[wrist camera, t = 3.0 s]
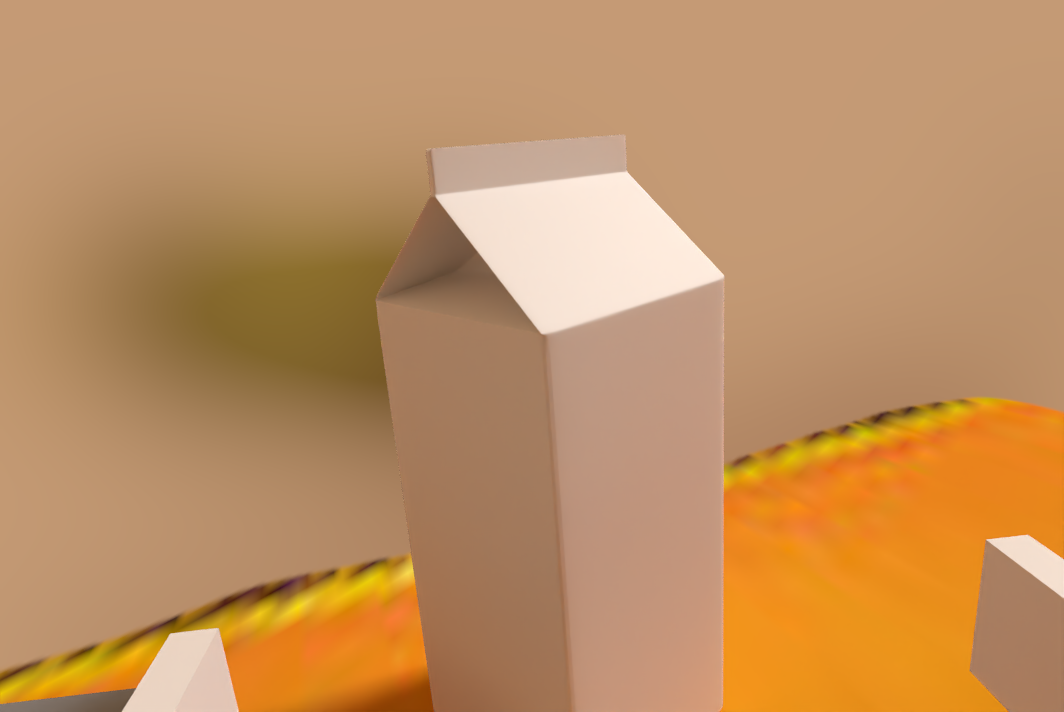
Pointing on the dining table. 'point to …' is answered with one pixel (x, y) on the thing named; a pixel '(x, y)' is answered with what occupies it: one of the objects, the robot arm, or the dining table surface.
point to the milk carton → (559, 434)
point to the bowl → (75, 703)
